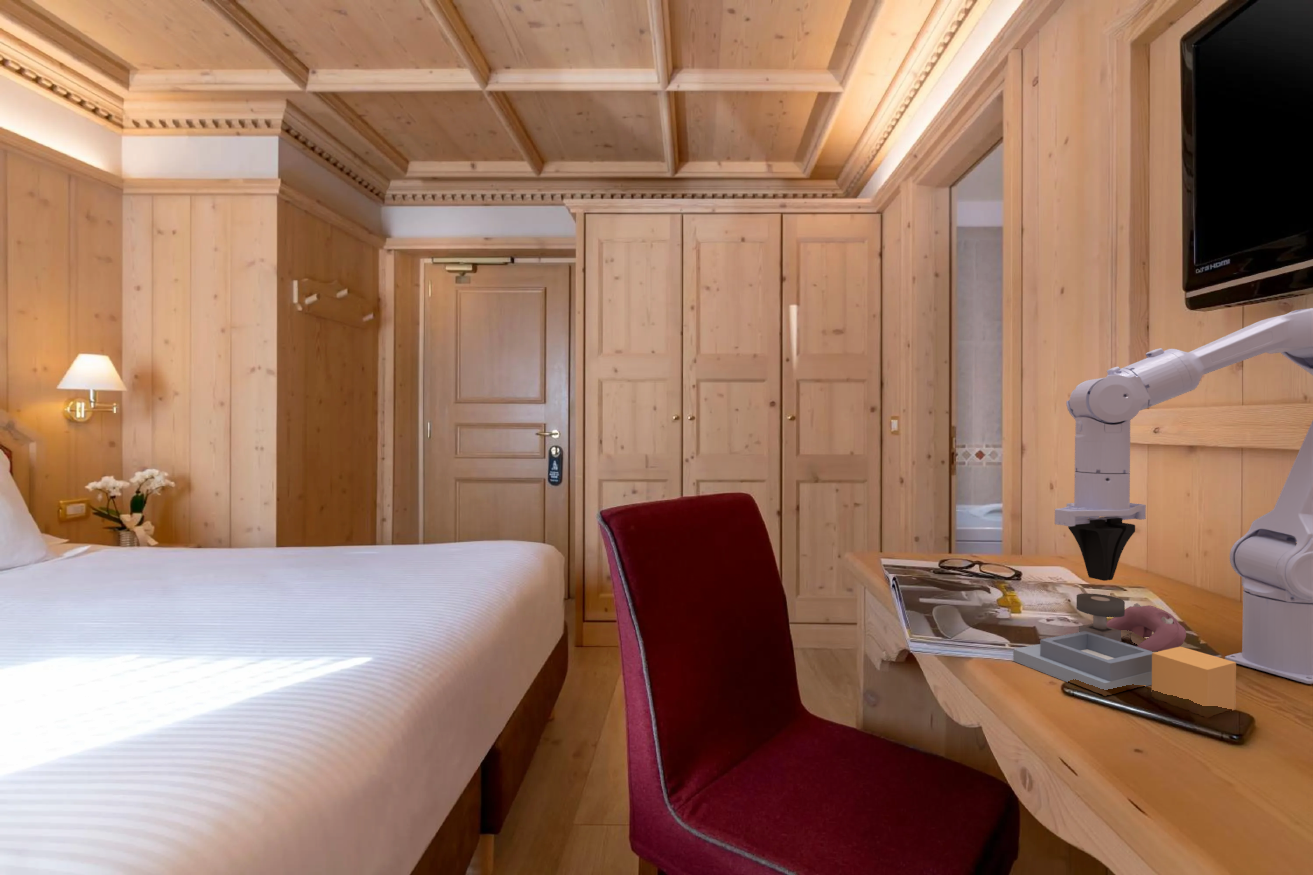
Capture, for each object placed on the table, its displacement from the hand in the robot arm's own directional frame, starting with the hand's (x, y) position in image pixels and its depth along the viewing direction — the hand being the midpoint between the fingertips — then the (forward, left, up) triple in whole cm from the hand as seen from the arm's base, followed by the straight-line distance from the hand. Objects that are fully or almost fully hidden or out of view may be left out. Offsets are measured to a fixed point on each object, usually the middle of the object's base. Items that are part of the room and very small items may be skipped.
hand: (1100, 578), depth 79 cm
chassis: (+5, +3, -10) cm, 11 cm away
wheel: (0, 0, -6) cm, 6 cm away
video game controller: (-7, +1, -10) cm, 12 cm away
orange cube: (+5, +13, -10) cm, 17 cm away
